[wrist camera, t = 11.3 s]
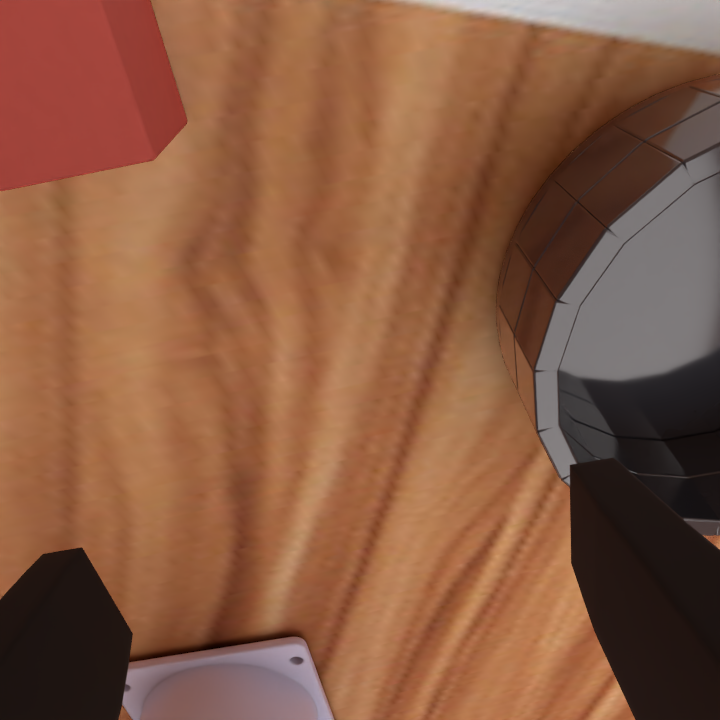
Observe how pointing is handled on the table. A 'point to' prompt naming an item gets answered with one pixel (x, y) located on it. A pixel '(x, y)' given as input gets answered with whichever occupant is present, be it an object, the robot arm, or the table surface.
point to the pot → (626, 301)
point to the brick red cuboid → (82, 89)
